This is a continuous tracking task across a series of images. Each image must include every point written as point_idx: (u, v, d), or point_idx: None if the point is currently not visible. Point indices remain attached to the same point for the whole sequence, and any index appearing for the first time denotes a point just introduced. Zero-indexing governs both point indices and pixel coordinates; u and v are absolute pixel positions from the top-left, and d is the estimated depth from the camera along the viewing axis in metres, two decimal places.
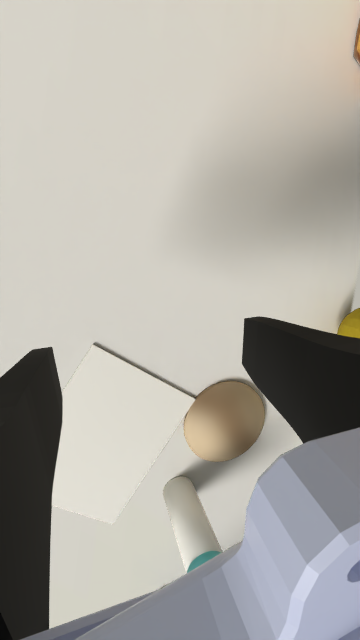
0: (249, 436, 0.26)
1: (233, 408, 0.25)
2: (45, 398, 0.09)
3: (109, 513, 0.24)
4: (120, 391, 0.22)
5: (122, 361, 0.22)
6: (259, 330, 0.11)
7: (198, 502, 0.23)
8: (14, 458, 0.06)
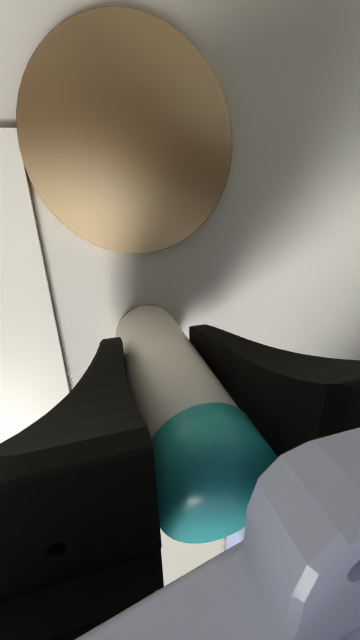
0: (211, 149, 0.11)
1: (123, 97, 0.10)
2: None
3: None
4: None
5: None
6: (200, 340, 0.10)
7: (163, 330, 0.11)
8: None
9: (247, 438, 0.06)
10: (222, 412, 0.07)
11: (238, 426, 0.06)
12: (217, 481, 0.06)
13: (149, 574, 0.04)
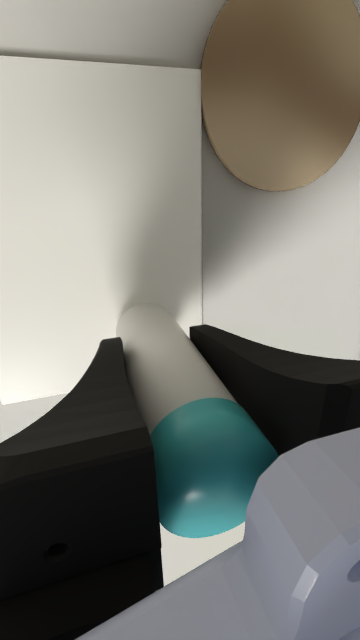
0: (350, 95, 0.12)
1: (289, 43, 0.11)
2: None
3: None
4: (42, 135, 0.10)
5: None
6: (199, 339, 0.10)
7: (163, 327, 0.11)
8: None
9: (246, 432, 0.06)
10: (221, 407, 0.07)
11: (237, 421, 0.06)
12: (216, 475, 0.06)
13: (149, 574, 0.04)
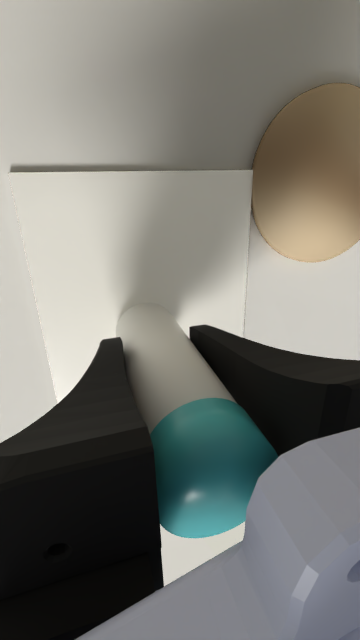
0: None
1: (328, 145, 0.13)
2: None
3: None
4: (119, 230, 0.12)
5: (83, 173, 0.11)
6: (199, 340, 0.10)
7: (162, 327, 0.11)
8: None
9: (245, 433, 0.06)
10: (220, 407, 0.07)
11: (236, 421, 0.06)
12: (215, 476, 0.06)
13: (149, 574, 0.04)
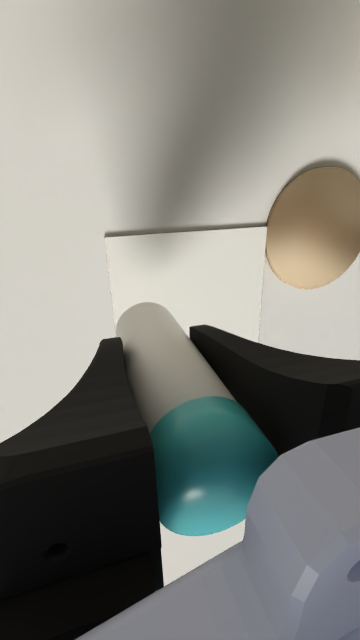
0: (357, 230, 0.19)
1: (320, 208, 0.18)
2: None
3: None
4: (174, 271, 0.17)
5: (152, 235, 0.16)
6: (199, 339, 0.10)
7: (162, 326, 0.11)
8: None
9: (245, 431, 0.06)
10: (220, 406, 0.07)
11: (236, 419, 0.06)
12: (215, 473, 0.06)
13: (149, 574, 0.04)
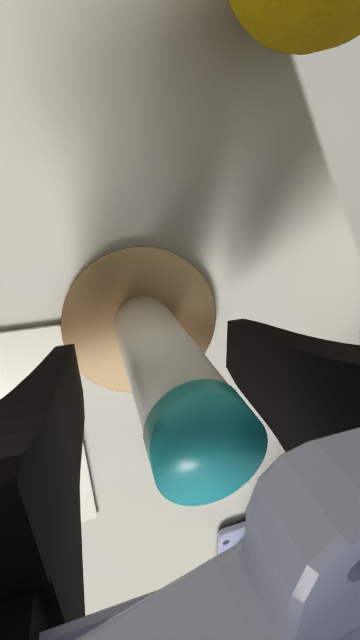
0: (200, 320, 0.15)
1: None
2: (72, 393, 0.09)
3: None
4: None
5: None
6: (241, 333, 0.11)
7: (159, 318, 0.11)
8: (55, 449, 0.06)
9: (236, 408, 0.07)
10: (214, 387, 0.07)
11: (228, 398, 0.07)
12: (209, 447, 0.07)
13: (27, 616, 0.04)
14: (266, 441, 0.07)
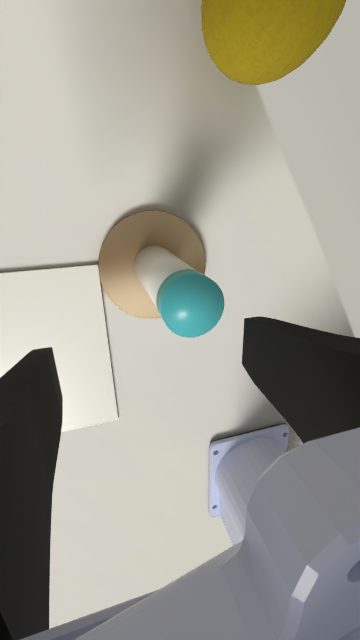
0: (194, 265, 0.21)
1: None
2: (45, 398, 0.09)
3: (106, 413, 0.23)
4: (7, 306, 0.19)
5: None
6: (259, 330, 0.11)
7: (165, 253, 0.17)
8: (14, 458, 0.06)
9: (205, 277, 0.13)
10: (195, 271, 0.13)
11: (202, 275, 0.13)
12: (191, 298, 0.13)
13: None
14: (223, 301, 0.13)
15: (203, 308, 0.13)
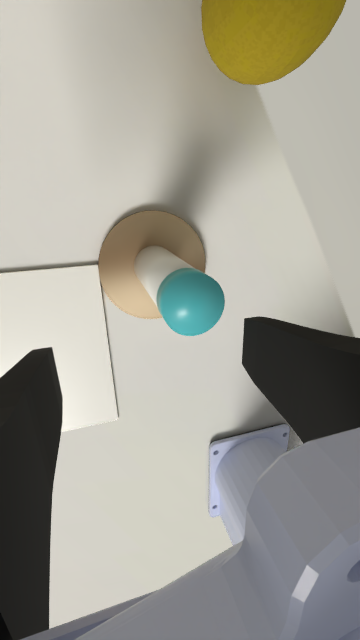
0: (194, 265, 0.21)
1: None
2: (45, 398, 0.09)
3: (106, 413, 0.23)
4: (7, 306, 0.19)
5: None
6: (259, 330, 0.11)
7: (165, 252, 0.17)
8: (14, 458, 0.06)
9: (205, 275, 0.13)
10: (195, 269, 0.13)
11: (202, 273, 0.13)
12: (191, 296, 0.13)
13: None
14: (223, 299, 0.13)
15: (203, 306, 0.13)
